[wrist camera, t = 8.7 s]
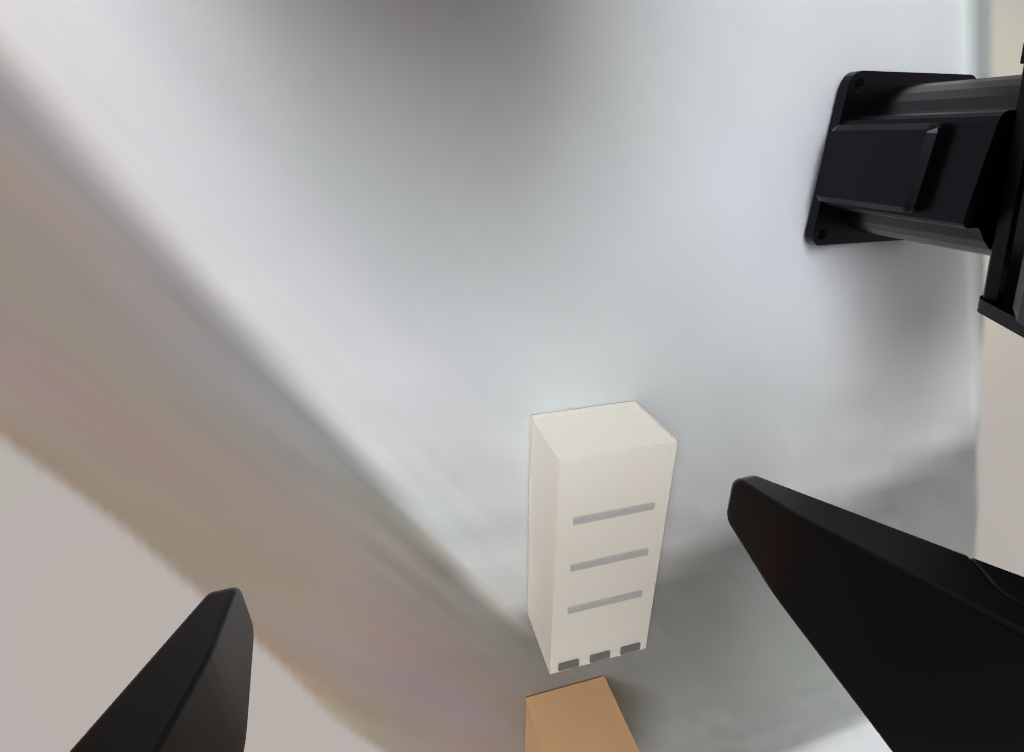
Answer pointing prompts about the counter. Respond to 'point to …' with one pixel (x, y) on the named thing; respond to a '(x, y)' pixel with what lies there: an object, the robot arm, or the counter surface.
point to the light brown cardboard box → (577, 720)
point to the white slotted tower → (595, 529)
